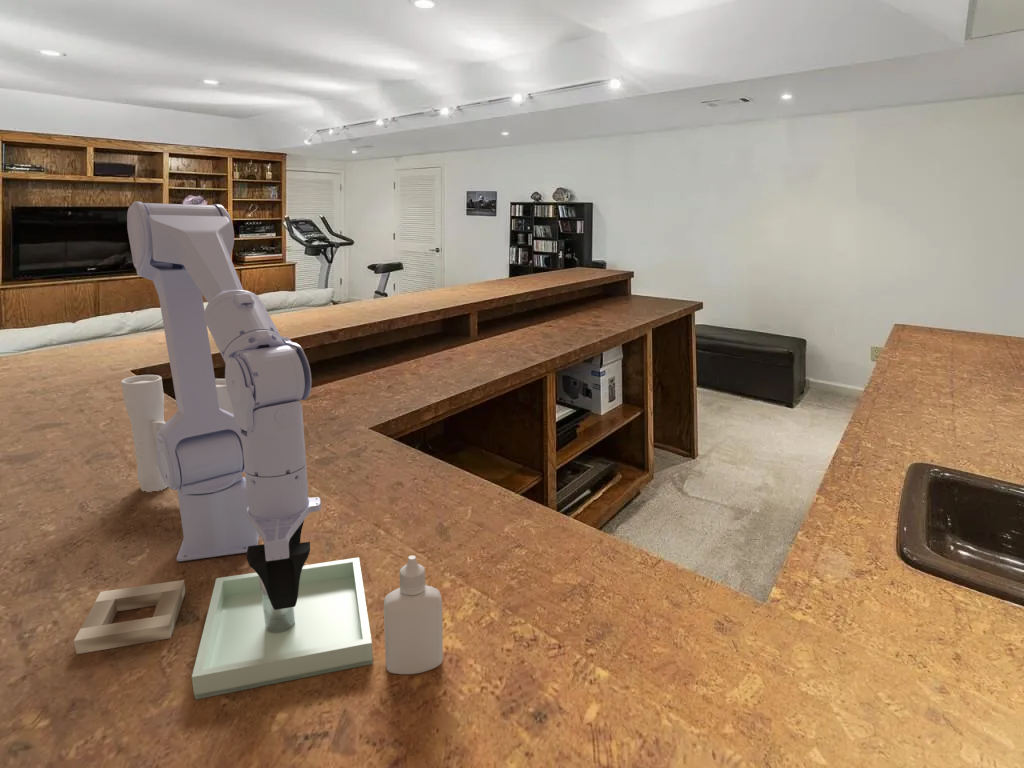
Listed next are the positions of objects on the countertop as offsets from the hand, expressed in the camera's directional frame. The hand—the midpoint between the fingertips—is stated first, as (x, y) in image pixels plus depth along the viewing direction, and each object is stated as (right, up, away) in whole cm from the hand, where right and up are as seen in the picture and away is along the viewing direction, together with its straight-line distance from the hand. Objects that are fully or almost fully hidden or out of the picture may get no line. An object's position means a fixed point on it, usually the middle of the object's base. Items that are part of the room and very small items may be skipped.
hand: (286, 584), depth 63 cm
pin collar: (-17, -5, +2) cm, 18 cm away
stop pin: (-1, -5, +1) cm, 5 cm away
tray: (0, -5, +1) cm, 5 cm away
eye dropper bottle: (+14, -7, -3) cm, 16 cm away
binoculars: (-28, +4, +33) cm, 44 cm away
